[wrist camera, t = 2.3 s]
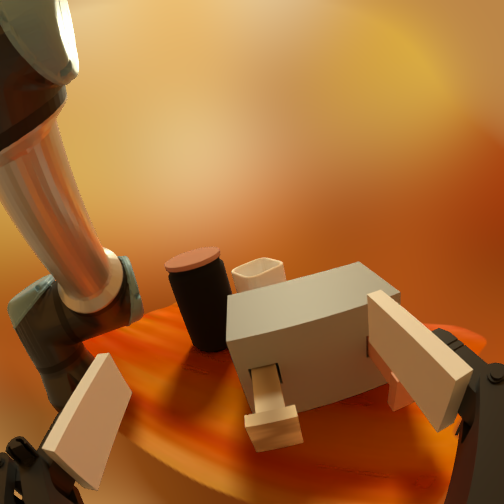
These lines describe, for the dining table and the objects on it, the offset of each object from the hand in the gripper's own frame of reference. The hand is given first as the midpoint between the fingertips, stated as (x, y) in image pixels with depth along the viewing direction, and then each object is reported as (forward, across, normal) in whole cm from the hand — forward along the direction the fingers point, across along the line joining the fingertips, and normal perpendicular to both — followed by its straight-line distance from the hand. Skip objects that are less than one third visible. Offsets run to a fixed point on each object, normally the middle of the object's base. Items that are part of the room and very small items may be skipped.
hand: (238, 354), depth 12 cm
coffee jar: (+38, -9, -22) cm, 45 cm away
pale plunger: (+12, 0, -16) cm, 20 cm away
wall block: (+20, +7, -22) cm, 31 cm away
